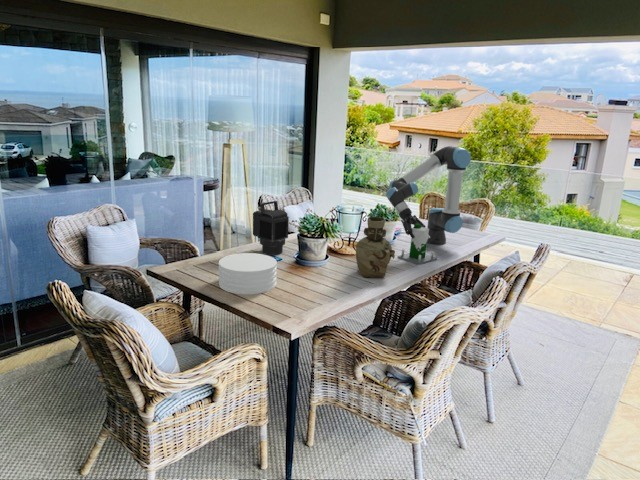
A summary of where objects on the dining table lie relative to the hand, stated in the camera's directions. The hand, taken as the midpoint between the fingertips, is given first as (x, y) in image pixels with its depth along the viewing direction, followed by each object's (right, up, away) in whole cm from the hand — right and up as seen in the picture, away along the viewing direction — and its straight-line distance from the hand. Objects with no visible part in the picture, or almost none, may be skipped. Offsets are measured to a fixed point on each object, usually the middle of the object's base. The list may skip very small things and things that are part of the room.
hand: (423, 240), depth 284 cm
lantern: (-91, -7, +5) cm, 91 cm away
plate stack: (-97, -22, -47) cm, 110 cm away
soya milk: (-3, -10, +4) cm, 11 cm away
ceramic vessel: (-33, -18, -23) cm, 44 cm away
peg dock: (-2, -11, +5) cm, 12 cm away
